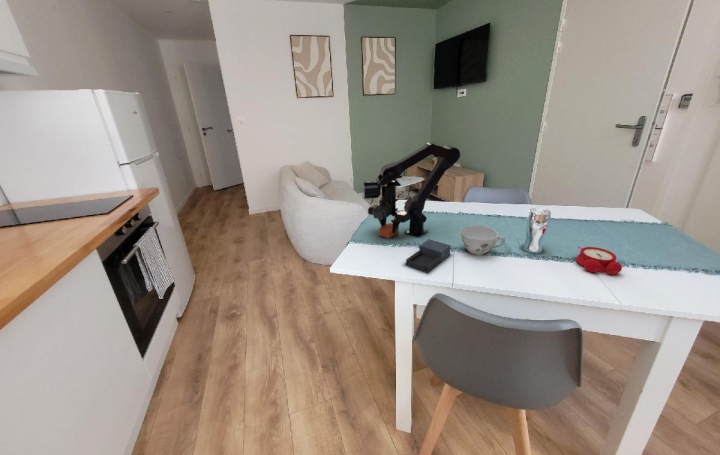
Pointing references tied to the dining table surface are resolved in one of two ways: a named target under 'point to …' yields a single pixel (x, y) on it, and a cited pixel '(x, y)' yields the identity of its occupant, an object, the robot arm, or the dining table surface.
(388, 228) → the orange block
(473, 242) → the teacup
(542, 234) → the beer glass
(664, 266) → the dining table surface
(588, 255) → the alarm clock
